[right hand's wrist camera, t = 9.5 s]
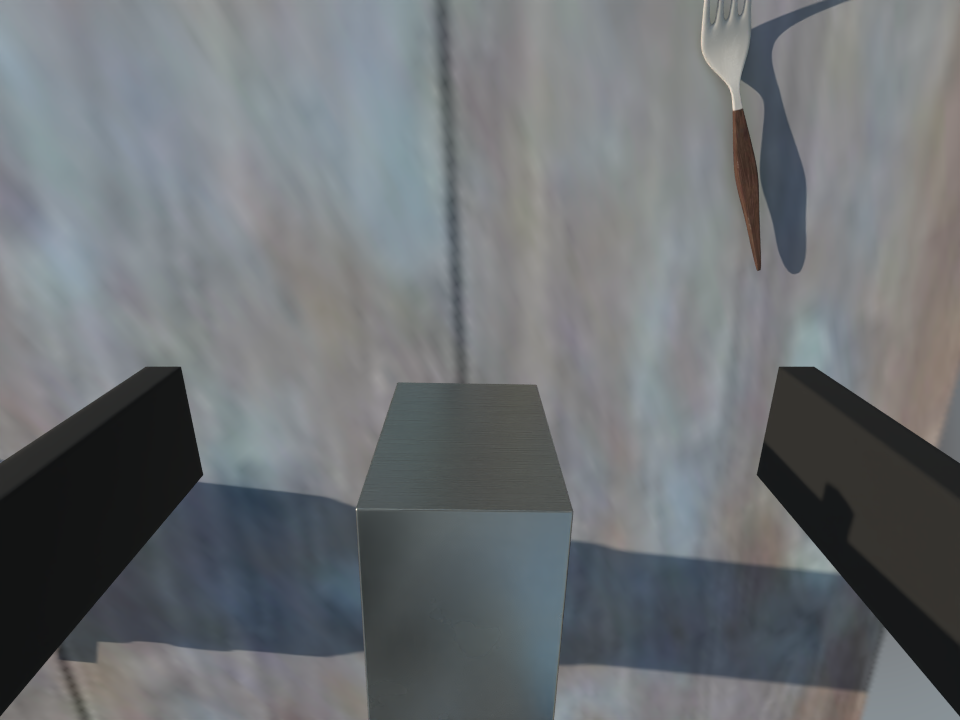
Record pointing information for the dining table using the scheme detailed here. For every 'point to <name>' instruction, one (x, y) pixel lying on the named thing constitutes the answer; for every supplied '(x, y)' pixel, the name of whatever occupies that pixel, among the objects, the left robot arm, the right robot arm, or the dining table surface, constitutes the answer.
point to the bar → (463, 556)
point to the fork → (735, 102)
